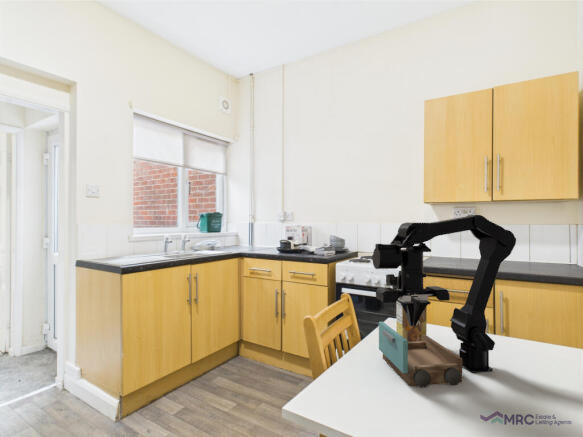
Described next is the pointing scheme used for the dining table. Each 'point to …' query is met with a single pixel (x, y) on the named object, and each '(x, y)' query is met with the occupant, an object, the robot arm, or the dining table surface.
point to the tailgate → (393, 347)
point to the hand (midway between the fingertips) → (412, 325)
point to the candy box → (409, 331)
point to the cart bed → (430, 364)
